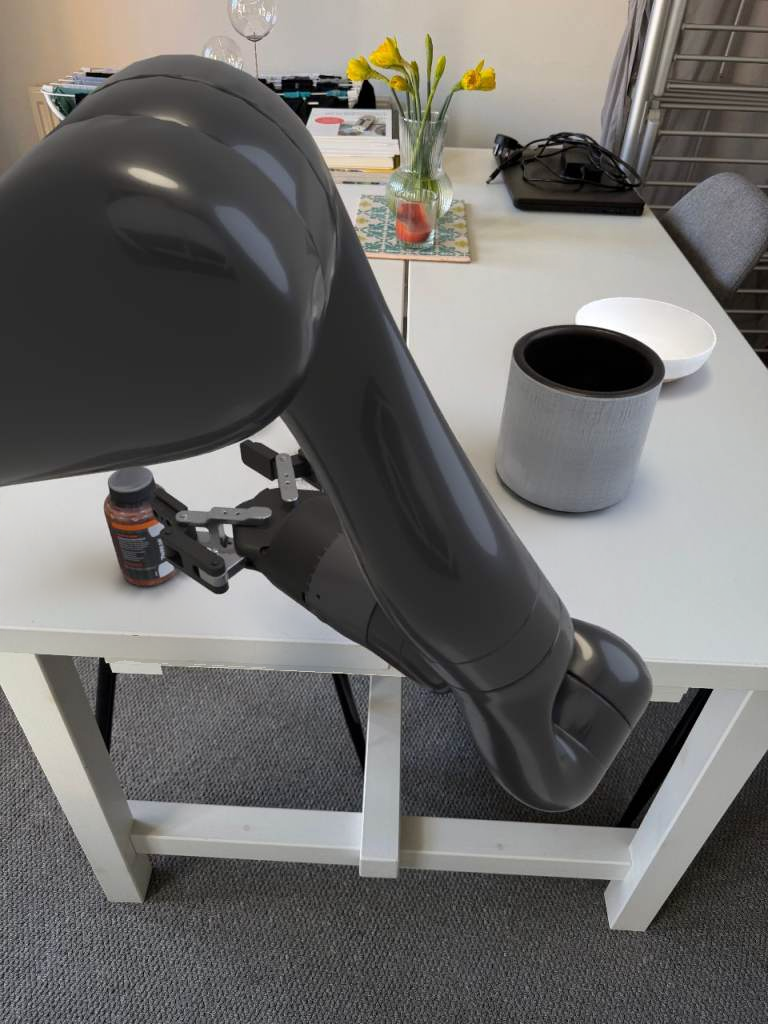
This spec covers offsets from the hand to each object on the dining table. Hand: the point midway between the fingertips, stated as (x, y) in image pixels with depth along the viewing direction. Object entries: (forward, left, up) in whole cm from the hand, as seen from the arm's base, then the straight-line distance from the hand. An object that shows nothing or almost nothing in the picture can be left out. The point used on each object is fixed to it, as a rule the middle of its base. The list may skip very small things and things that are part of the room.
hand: (201, 473), depth 57 cm
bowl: (+68, +22, -17) cm, 74 cm away
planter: (+42, +5, -17) cm, 46 cm away
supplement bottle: (-5, +10, -17) cm, 20 cm away
